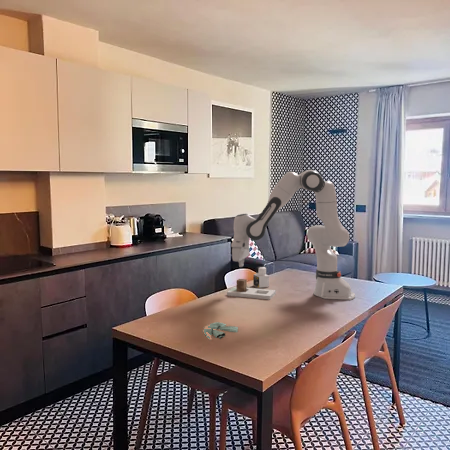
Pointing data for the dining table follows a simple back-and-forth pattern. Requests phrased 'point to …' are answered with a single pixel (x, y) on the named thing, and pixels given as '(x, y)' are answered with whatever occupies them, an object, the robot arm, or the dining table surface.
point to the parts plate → (252, 293)
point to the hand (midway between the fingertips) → (241, 266)
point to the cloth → (221, 327)
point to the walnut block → (241, 285)
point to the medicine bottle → (261, 278)
